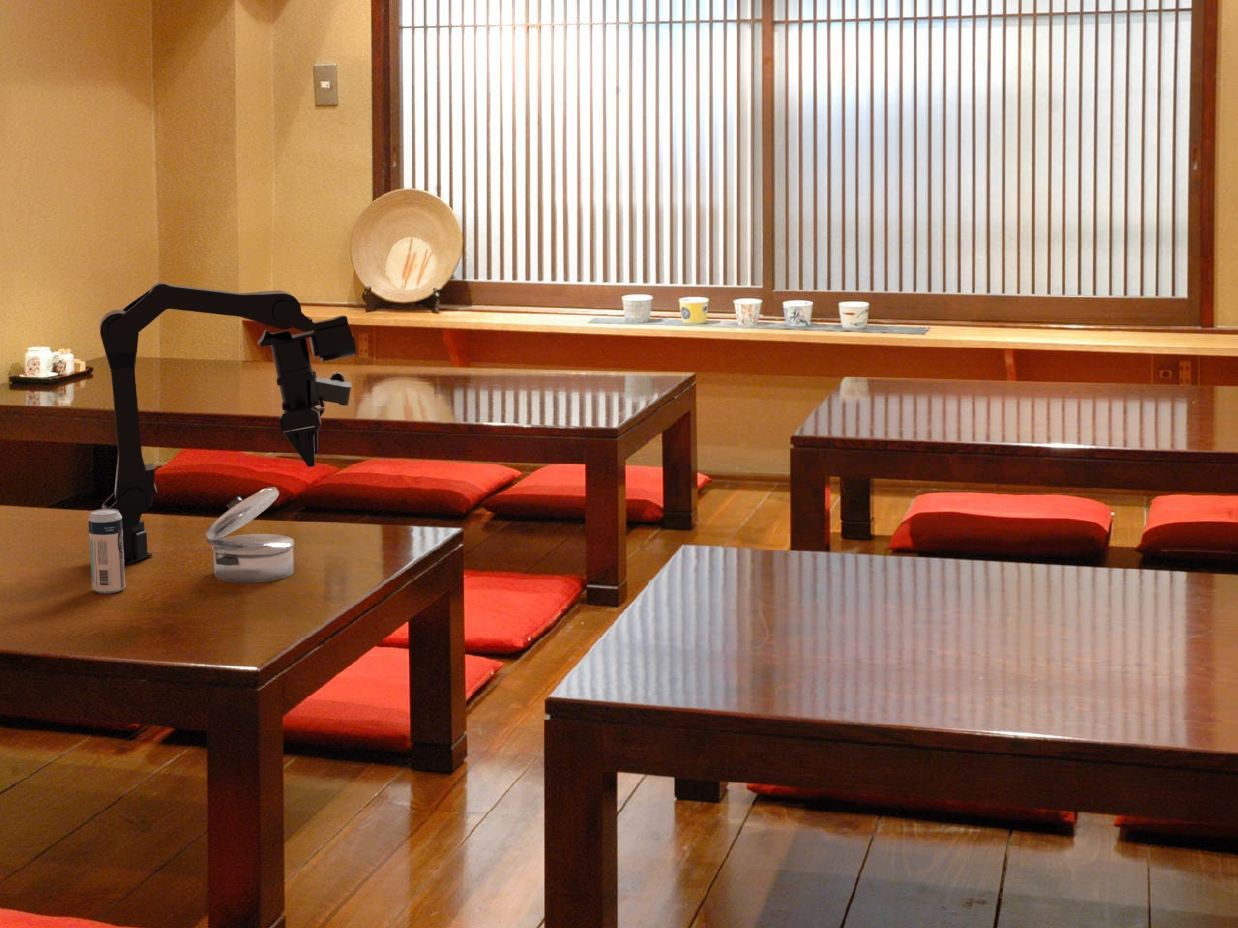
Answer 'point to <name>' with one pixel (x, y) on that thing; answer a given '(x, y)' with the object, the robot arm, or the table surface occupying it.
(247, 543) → the cooker pot
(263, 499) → the cooker lid
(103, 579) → the beer can
